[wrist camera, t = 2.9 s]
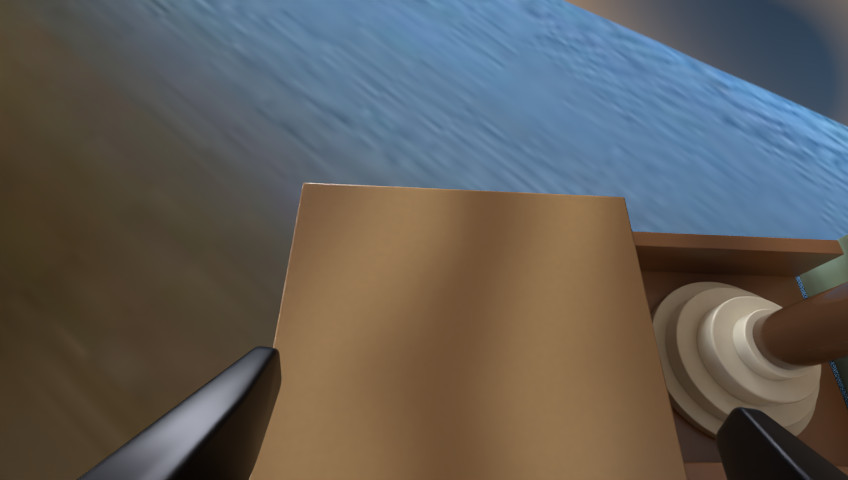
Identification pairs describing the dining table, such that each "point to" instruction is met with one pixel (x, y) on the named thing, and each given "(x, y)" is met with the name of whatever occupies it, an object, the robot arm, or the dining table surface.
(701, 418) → the cream and brown stand
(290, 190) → the dining table surface
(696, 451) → the drawer
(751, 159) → the dining table surface
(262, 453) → the cabinet
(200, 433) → the robot arm
